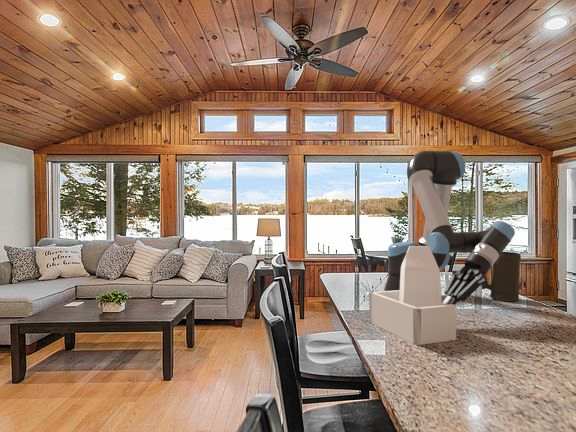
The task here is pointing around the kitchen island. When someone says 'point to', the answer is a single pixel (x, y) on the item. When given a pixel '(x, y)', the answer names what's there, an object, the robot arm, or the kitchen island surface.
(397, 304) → the cubby
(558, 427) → the kitchen island surface
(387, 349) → the kitchen island surface
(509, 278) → the beer stein
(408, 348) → the kitchen island surface
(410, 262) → the milk
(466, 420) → the kitchen island surface
